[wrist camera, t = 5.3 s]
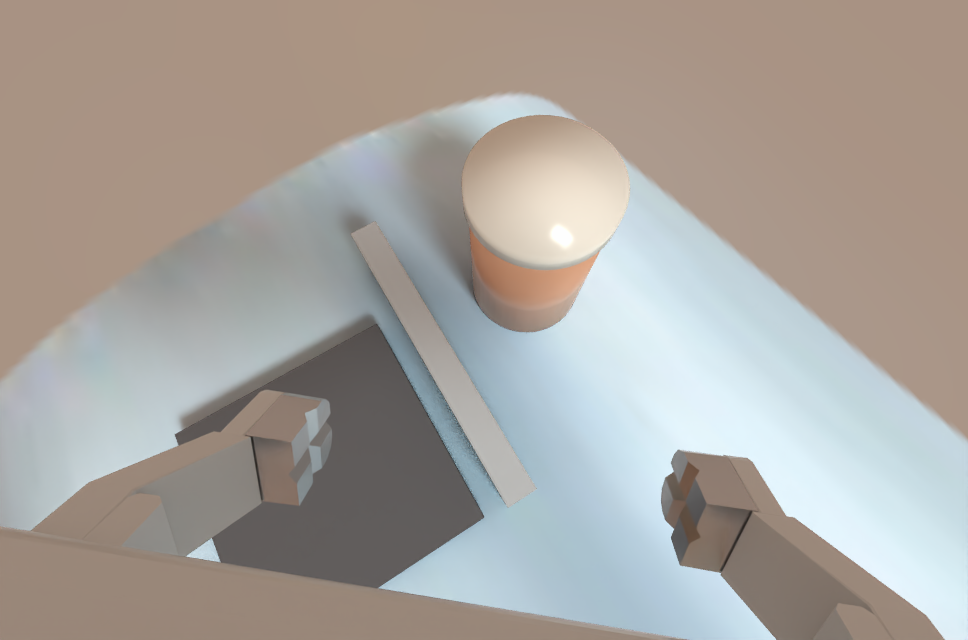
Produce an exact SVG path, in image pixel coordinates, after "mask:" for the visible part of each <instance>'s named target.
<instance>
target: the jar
mask: <svg viewBox="0 0 968 640" xmlns="http://www.w3.org/2000/svg"><path fill="white" fill-rule="evenodd" d="M461 183H462V196H463V208H464V213H465V217H466V220H467V222H468V225H469V230H470V245H471V260H472V275H473V289H474V294H475V298H476V300H477V303H478V304H479V306H480V308H481V309H482V311H483V312H484V313H485V314H486V316H487V317H488V318H489V319H491V320H492V321H493V322H495V323H496V324H498V325H500V326H502V327H504V328H506V329H509V330H512V331H517V332H536V331H540V330H544V329H547V328H549V327H551V326H553V325H555V324H556V323H558V322H559V321H560V320H561V319H562V318H564V317H565V315H566V314H567V313H568V312H569V310H570V309H571V307H572V305H573V303H574V301H575V299H576V297H577V295H578V293H579V291H580V289H581V287H582V285H583V283H584V281H585V279H586V277H587V275H588V274H589V272H590V270H591V268H592V266H593V264H594V262H595V260H596V258H597V256H598V254H599V252H600V250H601V249H602V248H604V247H605V245H606V244H607V243H608V242H609V241H610V239H611V238H612V236H613V234H614V233H615V231H616V229H617V227H618V225H619V223H620V221H621V220H622V218H623V216H624V213H625V211H626V209H627V205H628V201H629V195H630V182H629V176H628V172H627V169H626V166H625V164H624V161H623V160H622V158H621V156H620V154H619V153H618V152H617V150H616V149H615V148H614V146H613V145H612V144H611V143H610V142H609V141H608V140H607V139H606V138H605V137H603V136H602V135H601V134H600V133H598V132H597V131H595V130H593V129H592V128H590V127H588V126H586V125H584V124H582V123H580V122H577V121H574V120H572V119H568V118H564V117H559V116H551V115H534V116H526V117H520V118H517V119H513V120H510V121H508V122H505V123H503V124H501V125H499V126H497V127H495V128H493V129H492V130H491V131H489V132H488V133H486V134H485V135H484V136H483V137H482V138H481V139H480V140H479V141H478V142H477V143H476V144H475V146H474V147H473V148H472V150H471V151H470V153H469V155H468V157H467V159H466V162H465V164H464V168H463V172H462V182H461Z"/></svg>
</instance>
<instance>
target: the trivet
mask: <svg viewBox="0 0 968 640" xmlns="http://www.w3.org/2000/svg"><path fill="white" fill-rule="evenodd" d="M264 390H272V391H279V392H284V393H292V394H298V395H304V396H310V397H316V398H322V399H326V400H327V401H329V403H330V412H331V414H330V415H329V417H328V418H327V420H326V422H327V424H328V425H329V426H330V427H331V428H332V443H331V449H330V452H329V455H328V458H327V460H326V462H325V464H324V465H323V467H322V468H321V469H320V470H318V471H316V472H314V473H313V474H312V475H313V484H312V486H311V487H310V489H309V491H308V492H307V494H306V496H305V497H304V499H303V501H302V502H301V504H300V506H297V505H289V504H281V503H273V502H266V501H262V503H261V504H260V505H258V506H257V507H255V508H254V509H253V510H251V511H250V512H248V513H247V514H245V515H244V516H243V517H241V518H240V519H238V520H237V521H235V522H234V523H232V524H231V525H230V526H228V527H227V528H225V529H224V530H222V531H221V532H220V533H218V534H217V535H215V536H214V537H212V539H213V542H214V545H215V547H216V550H217V553H218V556H219V559H220V561H221V563H227V564H233V565H239V566H245V567H251V568H257V569H263V570H269V571H275V572H282V573H288V574H294V575H300V576H306V577H312V578H318V579H324V580H330V581H336V582H342V583H348V584H354V585H361V586H367V587H373V588H378V587H380V586H381V585H383V584H384V583H386V582H387V581H389V580H390V579H392V578H393V577H395V576H396V575H398V574H399V573H401V572H403V571H404V570H406V569H407V568H409V567H410V566H412V565H413V564H415V563H416V562H418V561H419V560H421V559H422V558H424V557H425V556H427V555H428V554H430V553H431V552H433V551H434V550H436V549H437V548H439V547H440V546H442V545H443V544H445V543H446V542H448V541H449V540H451V539H452V538H454V537H456V536H457V535H459V534H460V533H462V532H463V531H465V530H466V529H468V528H469V527H471V526H472V525H474V524H475V523H477V522H478V521H480V520H481V519H483V518H484V515H483V513H482V512H481V510H480V508H479V506H478V504H477V503H476V501H475V499H474V497H473V495H472V494H471V492H470V490H469V488H468V486H467V485H466V483H465V481H464V479H463V477H462V476H461V474H460V472H459V470H458V468H457V467H456V465H455V463H454V461H453V459H452V458H451V456H450V454H449V452H448V450H447V449H446V447H445V445H444V443H443V441H442V440H441V438H440V436H439V434H438V432H437V431H436V429H435V427H434V425H433V423H432V422H431V420H430V418H429V416H428V414H427V412H426V411H425V409H424V407H423V405H422V403H421V402H420V400H419V398H418V396H417V394H416V393H415V391H414V389H413V387H412V385H411V384H410V382H409V380H408V378H407V376H406V375H405V373H404V371H403V369H402V367H401V366H400V364H399V362H398V360H397V358H396V357H395V355H394V353H393V351H392V349H391V348H390V346H389V344H388V342H387V340H386V339H385V337H384V335H383V333H382V331H381V330H380V328H379V327H378V325H377V324H376V325H374V326H372V327H370V328H368V329H367V330H365V331H363V332H361V333H359V334H357V335H356V336H354V337H352V338H350V339H348V340H346V341H345V342H343V343H341V344H339V345H337V346H336V347H334V348H332V349H330V350H328V351H326V352H325V353H323V354H321V355H319V356H317V357H315V358H314V359H312V360H310V361H308V362H306V363H304V364H303V365H301V366H299V367H297V368H295V369H294V370H292V371H290V372H288V373H286V374H284V375H283V376H281V377H279V378H277V379H275V380H273V381H272V382H270V383H268V384H266V385H264V386H262V387H261V388H259V389H257V390H255V391H253V392H252V393H250V394H248V395H246V396H244V397H242V398H241V399H239V400H237V401H235V402H233V403H231V404H230V405H228V406H226V407H224V408H222V409H220V410H219V411H217V412H215V413H213V414H211V415H210V416H208V417H206V418H204V419H202V420H200V421H199V422H197V423H195V424H193V425H191V426H189V427H188V428H186V429H184V430H182V431H180V432H178V433H177V434H175V437H176V439H177V442H178V445H182V444H184V443H187V442H189V441H192V440H194V439H196V438H199V437H201V436H204V435H206V434H209V433H211V432H214V431H215V432H221V431H222V430H223V429H224V428H225V427H226V426H227V425H228V424H229V423H230V422H231V421H232V420H233V419H234V418H235V417H236V416H237V415H238V414H239V413H240V412H241V411H242V410H243V409H244V408H245V407H246V406H247V405H248V404H249V403H250V402H251V401H252V400H253V399H254V398H255V397H256V396H257V395H258V394H259V393H260V392H261V391H264Z"/></svg>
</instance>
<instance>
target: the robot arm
mask: <svg viewBox="0 0 968 640" xmlns="http://www.w3.org/2000/svg"><path fill="white" fill-rule="evenodd" d="M330 414H331V412H330V403H329V401H327V400H326V399H322V398H316V397H310V396H304V395H298V394H292V393H284V392H279V391H272V390H264V391H261V392H260V393H259V394H258V395H257V396H256V397H255V398H254V399H253V400H252V401H251V402H250V403H249V404H248V405H247V406H246V407H245V408H244V409H243V410H242V411H241V412H240V413H239V414H238V415H237V416H236V417H235V418H234V419H233V420H232V421H231V422H230V423H229V424H228V425H227V426H226V427H225V428H224V429H223V430H222V431H221V432H215V431H214V432H211V433H209V434H206V435H204V436H201V437H199V438H196V439H194V440H192V441H189V442H187V443H184V444H182V445H179V446H177V447H174V448H172V449H170V450H167V451H165V452H162V453H160V454H157V455H155V456H153V457H150V458H148V459H145V460H143V461H140V462H138V463H135V464H133V465H131V466H128V467H126V468H123V469H121V470H118V471H116V472H113V473H111V474H109V475H106V476H104V477H101V478H99V479H96V480H94V481H91V482H89V483H88V484H86V485H85V486H84V487H83V488H82V489H80V490H79V491H78V492H77V493H76V494H74V495H73V496H72V497H71V498H70V499H68V500H67V501H66V502H65V503H64V504H62V505H61V506H60V507H59V508H58V509H56V510H55V511H54V512H53V513H51V514H50V515H49V516H48V517H47V518H45V519H44V520H43V521H42V522H41V523H39V524H38V525H37V526H36V527H35V528H33V529H32V530H31V531H26V530H20V529H14V528H8V527H2V526H0V640H688V639H682V638H676V637H670V636H664V635H658V634H652V633H646V632H640V631H634V630H628V629H622V628H615V627H609V626H603V625H597V624H591V623H585V622H579V621H573V620H567V619H561V618H555V617H549V616H543V615H537V614H530V613H524V612H518V611H512V610H506V609H500V608H494V607H488V606H482V605H476V604H470V603H464V602H458V601H452V600H446V599H439V598H433V597H427V596H421V595H415V594H409V593H403V592H397V591H391V590H385V589H379V588H373V587H367V586H361V585H354V584H348V583H342V582H336V581H330V580H324V579H318V578H312V577H306V576H300V575H294V574H288V573H282V572H275V571H269V570H263V569H257V568H251V567H245V566H239V565H233V564H227V563H221V562H215V561H209V560H203V559H196V558H190V557H185V556H187V555H188V554H189V553H191V552H192V551H194V550H195V549H197V548H198V547H199V546H201V545H202V544H204V543H205V542H207V541H208V540H209V539H211V538H212V537H214V536H215V535H217V534H218V533H220V532H221V531H222V530H224V529H225V528H227V527H228V526H230V525H231V524H232V523H234V522H235V521H237V520H238V519H240V518H241V517H243V516H244V515H245V514H247V513H248V512H250V511H251V510H253V509H254V508H255V507H257V506H258V505H260V504H261V503H262V501H266V502H273V503H281V504H289V505H297V506H300V504H301V502H302V501H303V499H304V497H305V496H306V494H307V492H308V491H309V489H310V487H311V486H312V484H313V475H312V474H313V473H314V472H316V471H318V470H320V469H321V468H322V467H323V465H324V464H325V462H326V460H327V458H328V455H329V452H330V449H331V443H332V428H331V427H330V426H329V425H328V424H327V422H326V420H327V418H328V417H329V415H330ZM671 464H672V467H673V470H674V472H673V473H672V474H670V475H669V476H667V477H666V478H665V481H664V484H663V487H662V495H661V504H662V511H663V514H664V517H665V520H666V521H667V522H668V523H669V524H670V525H671V526H672V527H673V528H674V531H673V534H672V536H671V540H672V543H673V546H674V549H675V552H676V555H677V558H678V561H679V564H680V565H681V566H687V567H692V568H698V569H703V570H708V571H714V572H719V573H721V576H722V577H723V578H724V579H725V580H726V582H727V583H728V584H729V585H730V586H731V587H732V589H733V590H734V591H735V592H736V593H737V594H738V596H739V597H740V598H741V599H742V600H743V601H744V602H745V604H746V605H747V606H748V607H749V608H750V609H751V611H752V612H753V613H754V614H755V615H756V616H757V618H758V619H759V620H760V621H761V622H762V623H763V624H764V626H765V627H766V628H767V629H768V630H769V631H770V633H771V634H772V635H773V636H774V637H775V638H776V640H945V639H944V638H943V637H942V635H941V634H940V633H939V632H938V630H937V629H936V628H935V626H934V625H933V624H932V623H931V621H930V620H929V619H928V617H927V616H926V615H925V614H923V613H922V612H921V611H919V610H918V609H917V608H915V607H914V606H913V605H911V604H910V603H909V602H907V601H906V600H905V599H903V598H902V597H900V596H899V595H898V594H896V593H895V592H894V591H892V590H891V589H890V588H888V587H887V586H886V585H884V584H883V583H882V582H880V581H879V580H878V579H876V578H875V577H873V576H872V575H871V574H869V573H868V572H867V571H865V570H864V569H863V568H861V567H860V566H859V565H857V564H856V563H855V562H853V561H852V560H851V559H849V558H848V557H846V556H845V555H844V554H842V553H841V552H840V551H838V550H837V549H836V548H834V547H833V546H832V545H830V544H829V543H828V542H826V541H825V540H824V539H822V538H821V537H819V536H818V535H817V534H815V533H814V532H813V531H811V530H810V529H809V528H807V527H806V526H805V525H803V524H802V523H801V522H799V521H798V520H797V519H795V518H793V517H787V516H786V515H785V513H784V512H783V510H782V508H781V507H780V505H779V504H778V502H777V500H776V499H775V497H774V496H773V494H772V493H771V491H770V489H769V488H768V486H767V485H766V483H765V481H764V480H763V478H762V477H761V475H760V473H759V472H758V470H757V469H756V467H755V465H754V464H753V462H752V461H750V460H749V459H748V458H743V457H734V456H726V455H724V456H721V455H714V454H706V453H699V452H692V451H685V450H677V452H676V453H675V454H674V456H673V459H672V461H671Z"/></svg>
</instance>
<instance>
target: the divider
mask: <svg viewBox="0 0 968 640" xmlns="http://www.w3.org/2000/svg"><path fill="white" fill-rule="evenodd" d="M351 236H352V237H353V239H354V241H355V243H356V244H357V246H358V248H359V250H360V252H361V253H362V255H363V257H364V259H365V261H366V262H367V264H368V266H369V268H370V269H371V271H372V273H373V275H374V276H375V278H376V280H377V282H378V283H379V285H380V287H381V289H382V290H383V292H384V294H385V296H386V297H387V299H388V301H389V303H390V304H391V306H392V308H393V309H394V311H395V313H396V315H397V316H398V318H399V320H400V322H401V323H402V325H403V327H404V329H405V330H406V332H407V334H408V336H409V337H410V339H411V341H412V343H413V344H414V346H415V348H416V350H417V351H418V353H419V355H420V356H421V358H422V360H423V362H424V363H425V365H426V367H427V369H428V370H429V372H430V374H431V376H432V377H433V379H434V381H435V383H436V384H437V386H438V388H439V390H440V391H441V393H442V395H443V397H444V398H445V400H446V402H447V403H448V405H449V407H450V409H451V410H452V412H453V414H454V416H455V417H456V419H457V421H458V423H459V424H460V426H461V428H462V430H463V431H464V433H465V435H466V437H467V438H468V440H469V442H470V444H471V445H472V447H473V449H474V450H475V452H476V454H477V456H478V457H479V459H480V461H481V463H482V464H483V466H484V468H485V470H486V471H487V473H488V475H489V477H490V478H491V480H492V482H493V484H494V485H495V487H496V489H497V491H498V492H499V494H500V496H501V497H502V499H503V501H504V503H505V504H506V506H507V507H508V508H509V507H510V506H512V505H513V504H515V503H516V502H518V501H519V500H521V499H522V498H524V497H525V496H527V495H529V494H530V493H532V492H533V491H535V490H536V489H537V488H536V487H535V485H534V483H533V482H532V480H531V479H530V477H529V475H528V474H527V472H526V470H525V469H524V467H523V465H522V464H521V462H520V460H519V459H518V457H517V455H516V454H515V452H514V450H513V449H512V447H511V445H510V444H509V442H508V440H507V439H506V437H505V435H504V434H503V432H502V430H501V429H500V427H499V425H498V424H497V422H496V420H495V419H494V417H493V415H492V414H491V412H490V411H489V409H488V407H487V406H486V404H485V402H484V401H483V399H482V397H481V396H480V394H479V392H478V391H477V389H476V387H475V386H474V384H473V382H472V381H471V379H470V377H469V376H468V374H467V372H466V371H465V369H464V367H463V366H462V364H461V362H460V361H459V359H458V357H457V356H456V354H455V352H454V351H453V349H452V347H451V346H450V344H449V343H448V341H447V339H446V338H445V336H444V334H443V333H442V331H441V329H440V328H439V326H438V324H437V323H436V321H435V319H434V318H433V316H432V314H431V313H430V311H429V309H428V308H427V306H426V304H425V303H424V301H423V299H422V298H421V296H420V294H419V293H418V291H417V289H416V288H415V286H414V284H413V283H412V281H411V279H410V278H409V276H408V275H407V273H406V271H405V270H404V268H403V266H402V265H401V263H400V261H399V260H398V258H397V256H396V255H395V253H394V251H393V250H392V248H391V246H390V245H389V243H388V241H387V240H386V238H385V236H384V235H383V233H382V231H381V230H380V228H379V226H378V225H377V223H376V221H375V222H373V223H371V224H369V225H367V226H365V227H363V228H361V229H359V230H357V231H355V232H353V233H351Z"/></svg>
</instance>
